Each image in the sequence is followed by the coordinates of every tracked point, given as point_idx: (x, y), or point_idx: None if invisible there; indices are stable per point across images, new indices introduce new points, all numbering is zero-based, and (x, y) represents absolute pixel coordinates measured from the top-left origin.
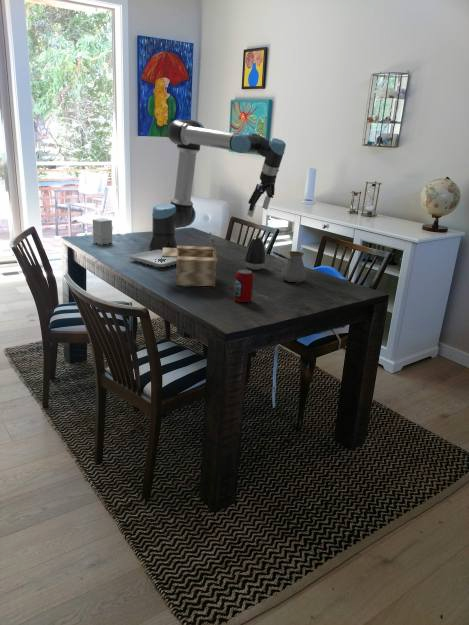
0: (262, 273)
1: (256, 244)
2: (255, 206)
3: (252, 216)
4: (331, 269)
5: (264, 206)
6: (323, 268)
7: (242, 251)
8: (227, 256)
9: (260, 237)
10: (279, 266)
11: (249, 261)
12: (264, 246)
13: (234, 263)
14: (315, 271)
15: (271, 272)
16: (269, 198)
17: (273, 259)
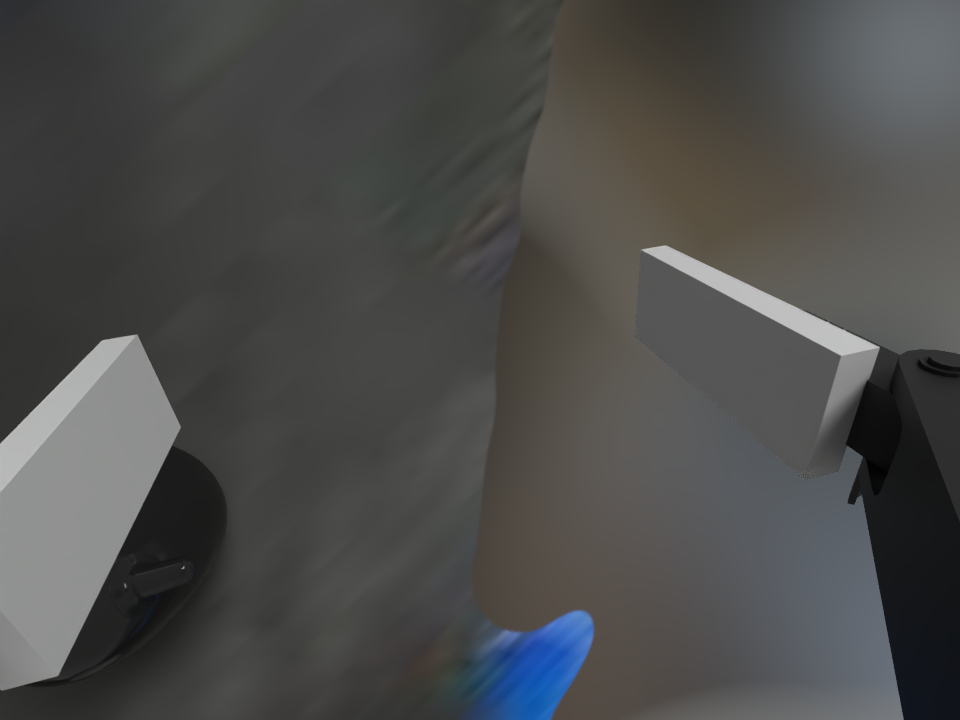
0: None
1: None
2: (71, 634)
3: (171, 434)
4: (572, 675)
5: (658, 302)
6: (554, 647)
7: (439, 102)
8: (209, 132)
9: (175, 573)
10: (362, 526)
11: None
12: (146, 642)
13: (96, 321)
14: (468, 683)
15: (188, 623)
16: (801, 463)
17: (463, 379)
